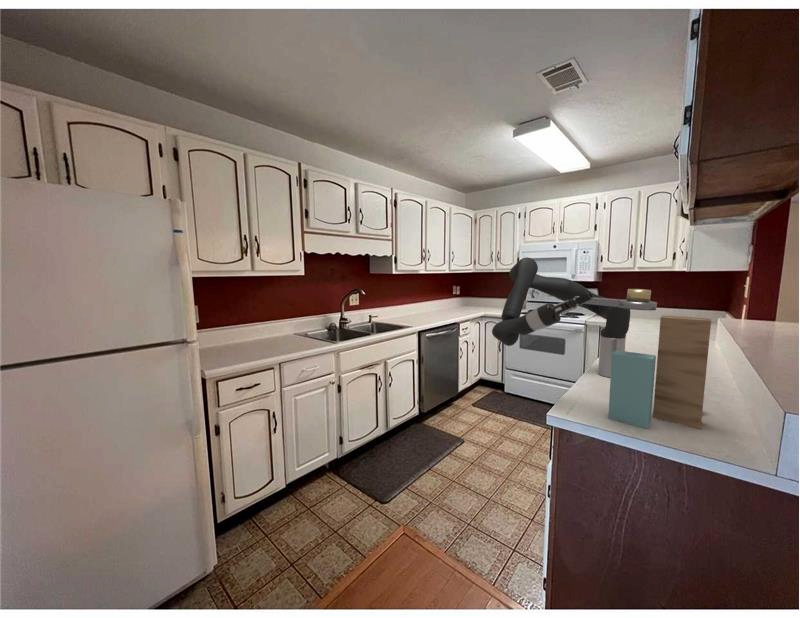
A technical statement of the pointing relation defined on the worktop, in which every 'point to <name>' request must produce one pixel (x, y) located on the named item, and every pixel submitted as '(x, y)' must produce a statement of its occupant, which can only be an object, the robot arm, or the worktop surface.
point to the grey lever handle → (635, 300)
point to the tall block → (631, 388)
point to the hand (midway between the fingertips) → (590, 295)
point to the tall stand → (681, 369)
